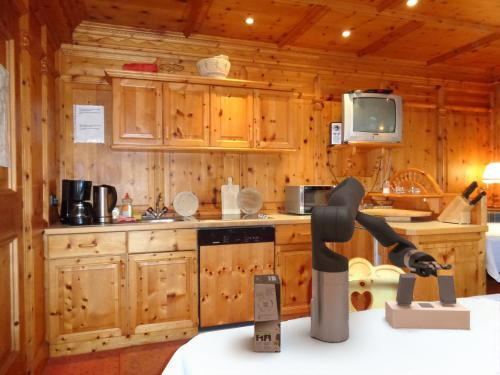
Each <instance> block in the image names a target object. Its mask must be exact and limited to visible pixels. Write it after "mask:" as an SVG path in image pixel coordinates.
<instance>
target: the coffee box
mask: <svg viewBox="0 0 500 375" xmlns="http://www.w3.org/2000/svg"><path fill="white" fill-rule="evenodd" d="M281 284H282V283H281V280H280V277H279V274H277V273H275V274H273V273H272V274H254V275H253V332H254V333H253V335H254V336H253V338H254V339H253V340H254V341H253V342H254V345H253V346H254V352H257V353H258V352H259V353H260V352H262V353H264V352H266V353H267V352H268V353H270V352H271V353H273V352H274V353H276V352H275V351H278V352H277V353H280V352H281V351H282V350H281V346H282V345H281V337H282V335H281V334H282V332H281V331H282V330H281V329H282V328H281V327H282V324H281V323H282V322H281V320H282V318H281V316H282V314H281V312H282V311H281V309H282V308H281V306H282V302H281V297H282V296H281V295H282V294H281V293H282V292H281V289H282V288H281V286H282V285H281ZM279 351H280V352H279Z"/></svg>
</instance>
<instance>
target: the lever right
mask: <svg viewBox="0 0 500 375" xmlns="http://www.w3.org/2000/svg"><path fill="white" fill-rule="evenodd" d="M436 278H437V285H438V295H439V302H440V303H441V304H456V303H457V302H458V301H457V297H456V296H457V294H456V288H455V286H456V285H455V280H454V271H453V269H452V270H437V277H436Z"/></svg>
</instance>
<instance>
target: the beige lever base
mask: <svg viewBox="0 0 500 375" xmlns="http://www.w3.org/2000/svg"><path fill="white" fill-rule="evenodd" d="M384 302H385V303H384V304H385V305H384V306H385V307H384V311H385V312H384V315H385V316H384V318H385V320H386V321H387V323H388V324H389V325H390V326H391V328H393V329H430V330H431V329H434V330H471V310H470V309H468V308H467V307H465V305H462V304H460V302H458V301H457V303H456V304H441V303H440V301H414V300H412V304H411V305H398V304H397V302H396V300H385V301H384Z"/></svg>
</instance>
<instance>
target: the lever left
mask: <svg viewBox="0 0 500 375" xmlns="http://www.w3.org/2000/svg"><path fill="white" fill-rule="evenodd" d="M416 278H417V277H416V276H415V274H414V273H399V276H398V283H397V291H396V297H395V301H396V302H397V304H398V305H411V304H412V301H413V298H414V289H415V284H416Z"/></svg>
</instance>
